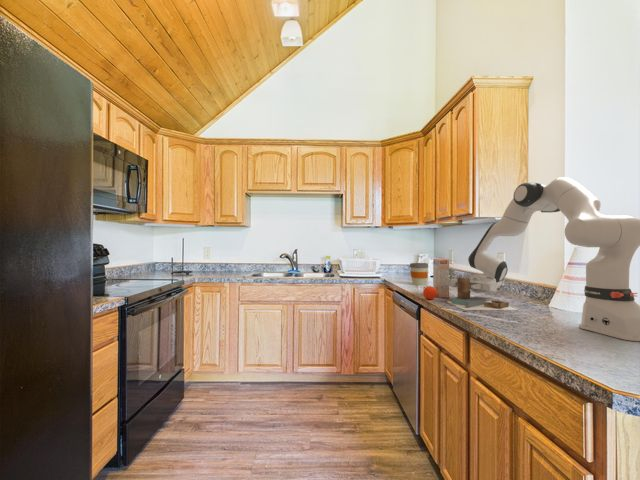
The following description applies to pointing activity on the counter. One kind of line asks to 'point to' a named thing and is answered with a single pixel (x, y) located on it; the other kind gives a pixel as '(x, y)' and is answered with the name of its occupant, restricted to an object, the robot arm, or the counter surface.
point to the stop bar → (463, 288)
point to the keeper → (496, 304)
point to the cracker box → (441, 277)
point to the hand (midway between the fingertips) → (462, 285)
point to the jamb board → (478, 305)
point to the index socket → (460, 300)
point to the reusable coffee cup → (419, 273)
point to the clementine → (429, 292)
